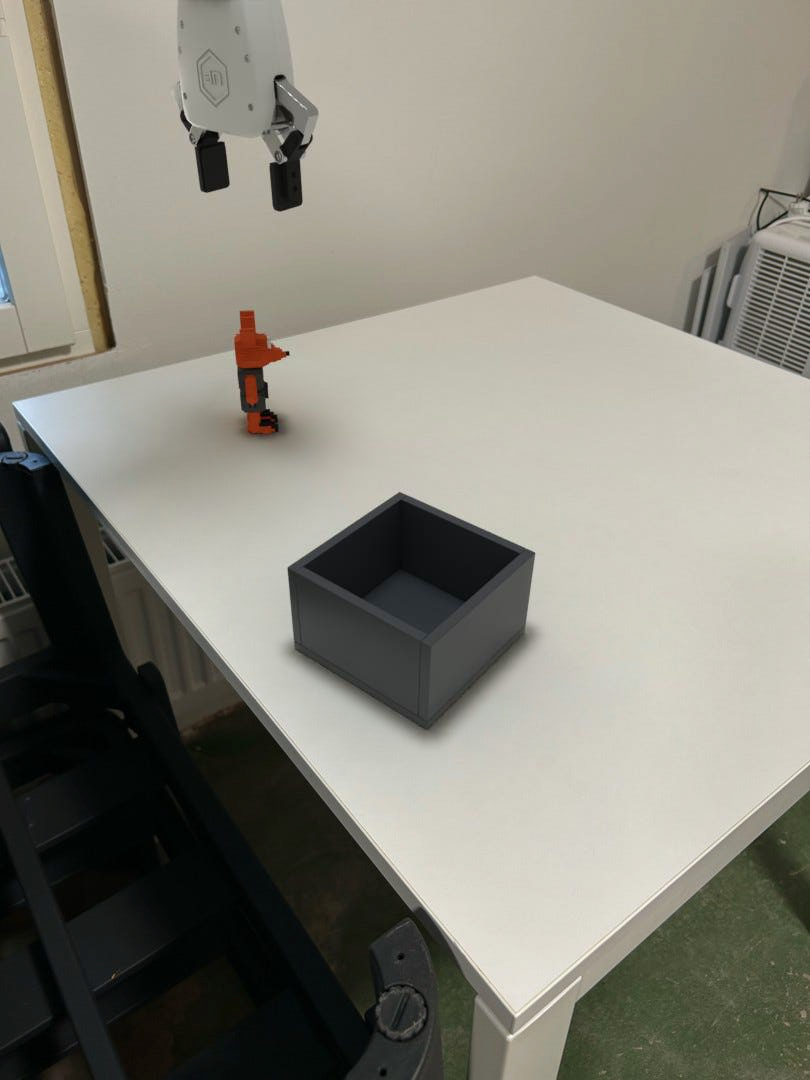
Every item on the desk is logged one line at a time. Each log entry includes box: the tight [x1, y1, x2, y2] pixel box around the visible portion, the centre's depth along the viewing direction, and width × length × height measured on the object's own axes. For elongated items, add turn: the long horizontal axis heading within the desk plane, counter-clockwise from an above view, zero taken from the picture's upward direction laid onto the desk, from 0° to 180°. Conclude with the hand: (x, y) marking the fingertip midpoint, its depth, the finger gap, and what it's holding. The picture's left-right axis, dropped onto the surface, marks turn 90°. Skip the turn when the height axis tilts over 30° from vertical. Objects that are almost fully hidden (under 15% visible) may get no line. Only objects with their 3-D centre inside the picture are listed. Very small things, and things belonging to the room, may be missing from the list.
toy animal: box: [233, 309, 291, 435], centre depth 87 cm, size 8×6×12 cm
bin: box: [286, 491, 536, 730], centre depth 61 cm, size 13×13×8 cm
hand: (250, 198), depth 76 cm, fingers open, 9 cm apart
